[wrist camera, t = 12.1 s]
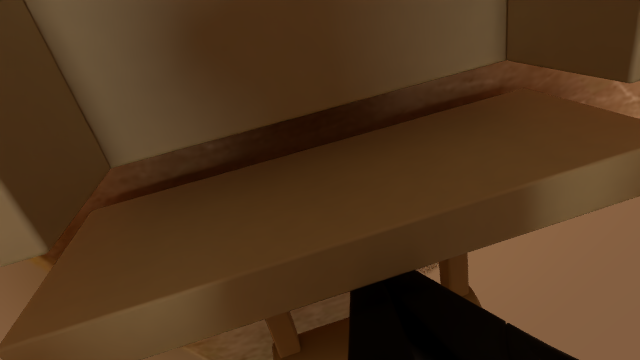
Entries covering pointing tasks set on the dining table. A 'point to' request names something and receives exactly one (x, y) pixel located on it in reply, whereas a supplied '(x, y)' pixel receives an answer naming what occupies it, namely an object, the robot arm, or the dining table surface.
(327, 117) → the dining table surface
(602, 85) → the dining table surface
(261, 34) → the drawer
